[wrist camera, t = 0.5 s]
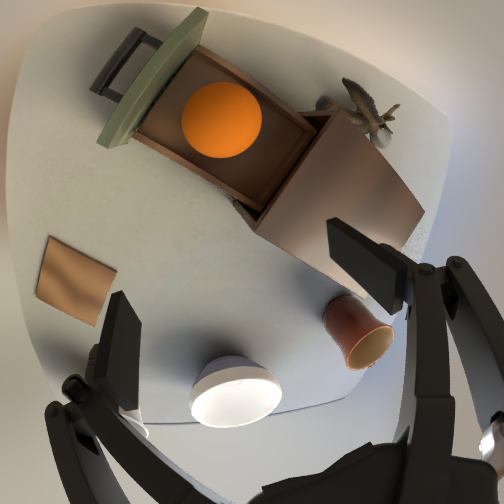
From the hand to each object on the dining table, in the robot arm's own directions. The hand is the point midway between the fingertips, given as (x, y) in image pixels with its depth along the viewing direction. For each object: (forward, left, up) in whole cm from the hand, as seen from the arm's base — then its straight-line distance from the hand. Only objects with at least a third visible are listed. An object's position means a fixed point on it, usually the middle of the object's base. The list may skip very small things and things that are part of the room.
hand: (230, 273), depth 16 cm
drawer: (-8, -6, -16) cm, 19 cm away
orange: (-8, -4, -15) cm, 17 cm away
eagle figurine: (-20, +9, -17) cm, 27 cm away
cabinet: (-8, +12, -16) cm, 22 cm away
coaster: (+18, -10, -16) cm, 26 cm away
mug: (+5, +30, -17) cm, 35 cm away
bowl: (+23, +18, -17) cm, 33 cm away
